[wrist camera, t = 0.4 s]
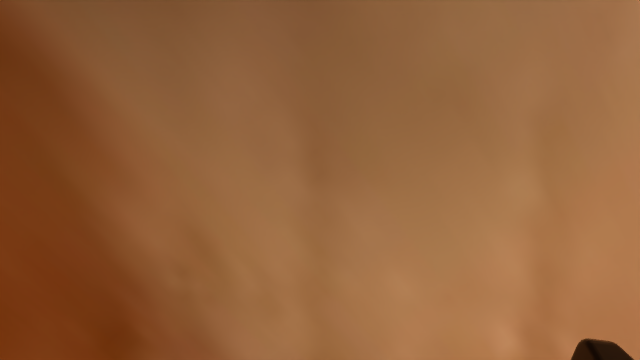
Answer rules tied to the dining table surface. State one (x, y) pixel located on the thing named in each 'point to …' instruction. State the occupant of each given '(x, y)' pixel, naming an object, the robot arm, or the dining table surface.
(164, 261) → the dining table surface
